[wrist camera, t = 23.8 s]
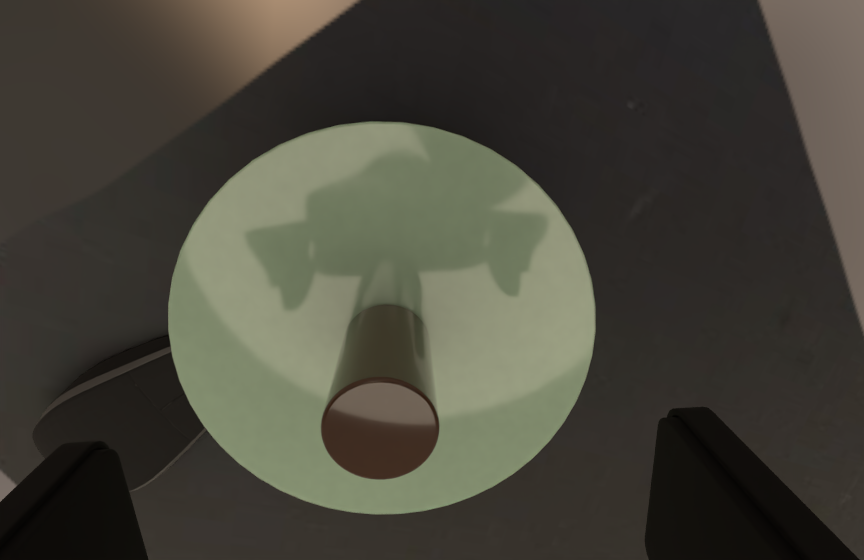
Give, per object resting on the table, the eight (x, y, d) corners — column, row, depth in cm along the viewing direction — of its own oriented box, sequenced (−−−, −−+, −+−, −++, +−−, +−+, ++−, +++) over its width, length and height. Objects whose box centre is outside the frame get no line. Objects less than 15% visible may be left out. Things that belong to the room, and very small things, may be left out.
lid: (143, 131, 14) (-16, 140, 9) (594, 110, 15) (705, 108, 9) (221, 502, 18) (144, 667, 13) (574, 477, 19) (643, 626, 13)
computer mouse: (271, 396, 30) (252, 436, 26) (111, 490, 32) (70, 541, 28) (194, 302, 28) (161, 331, 24) (26, 408, 30) (-29, 451, 26)
